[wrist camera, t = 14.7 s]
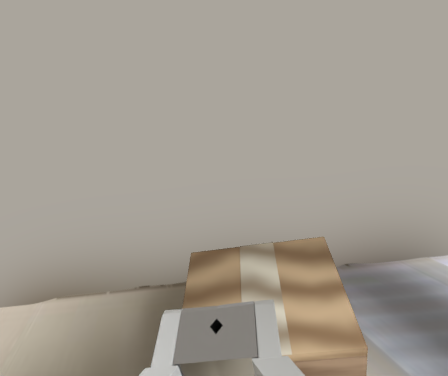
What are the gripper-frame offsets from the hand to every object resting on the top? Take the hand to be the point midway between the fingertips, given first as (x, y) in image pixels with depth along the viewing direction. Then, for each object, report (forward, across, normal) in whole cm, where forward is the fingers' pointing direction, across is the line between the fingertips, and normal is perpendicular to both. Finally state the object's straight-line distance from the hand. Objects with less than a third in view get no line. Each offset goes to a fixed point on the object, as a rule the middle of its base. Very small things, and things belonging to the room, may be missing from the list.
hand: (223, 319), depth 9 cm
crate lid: (+24, 0, +26) cm, 35 cm away
